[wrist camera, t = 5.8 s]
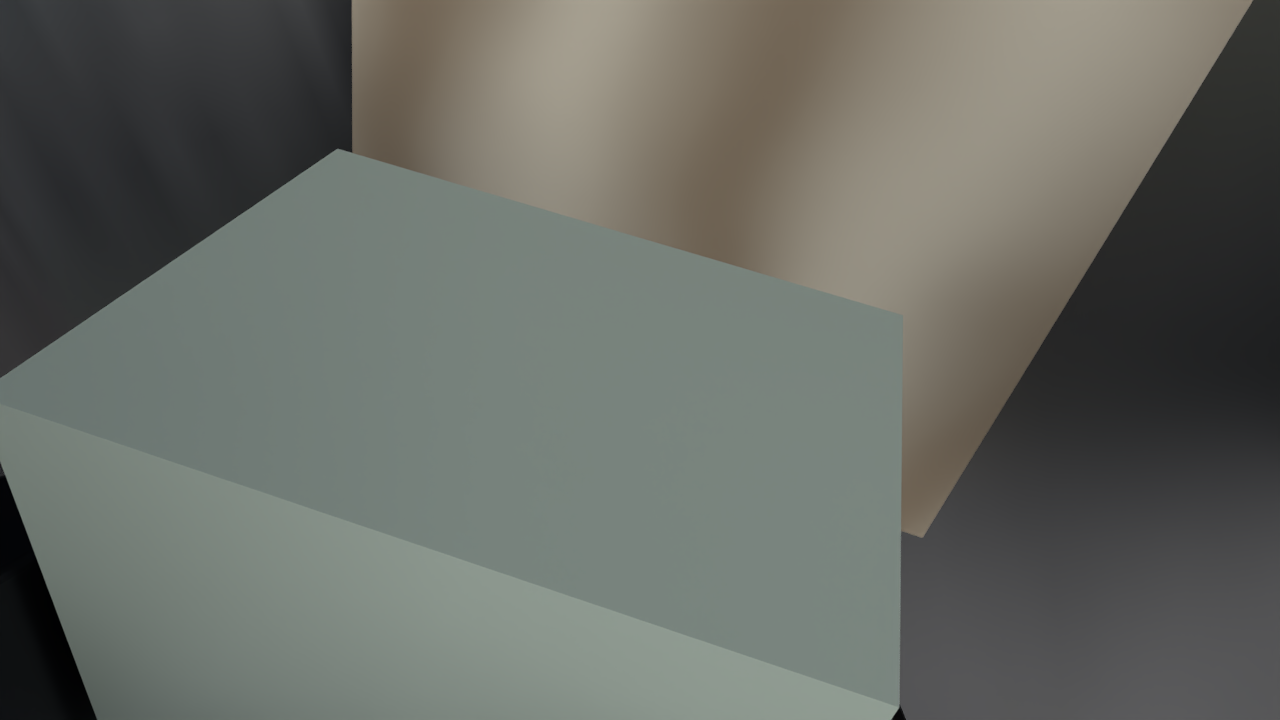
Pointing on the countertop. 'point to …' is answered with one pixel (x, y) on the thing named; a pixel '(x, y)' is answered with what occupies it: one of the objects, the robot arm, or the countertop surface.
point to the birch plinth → (816, 151)
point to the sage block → (465, 473)
